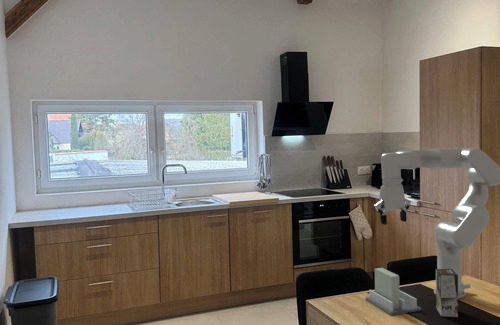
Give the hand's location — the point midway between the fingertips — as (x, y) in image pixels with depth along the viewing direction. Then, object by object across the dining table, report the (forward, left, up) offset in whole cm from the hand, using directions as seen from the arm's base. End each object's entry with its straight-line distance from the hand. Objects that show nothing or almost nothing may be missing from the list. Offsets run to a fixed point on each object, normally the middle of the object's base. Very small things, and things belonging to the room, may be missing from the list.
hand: (393, 222), depth 187 cm
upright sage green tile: (+7, +5, -32) cm, 33 cm away
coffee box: (-10, +19, -33) cm, 40 cm away
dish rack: (+5, +5, -33) cm, 34 cm away
